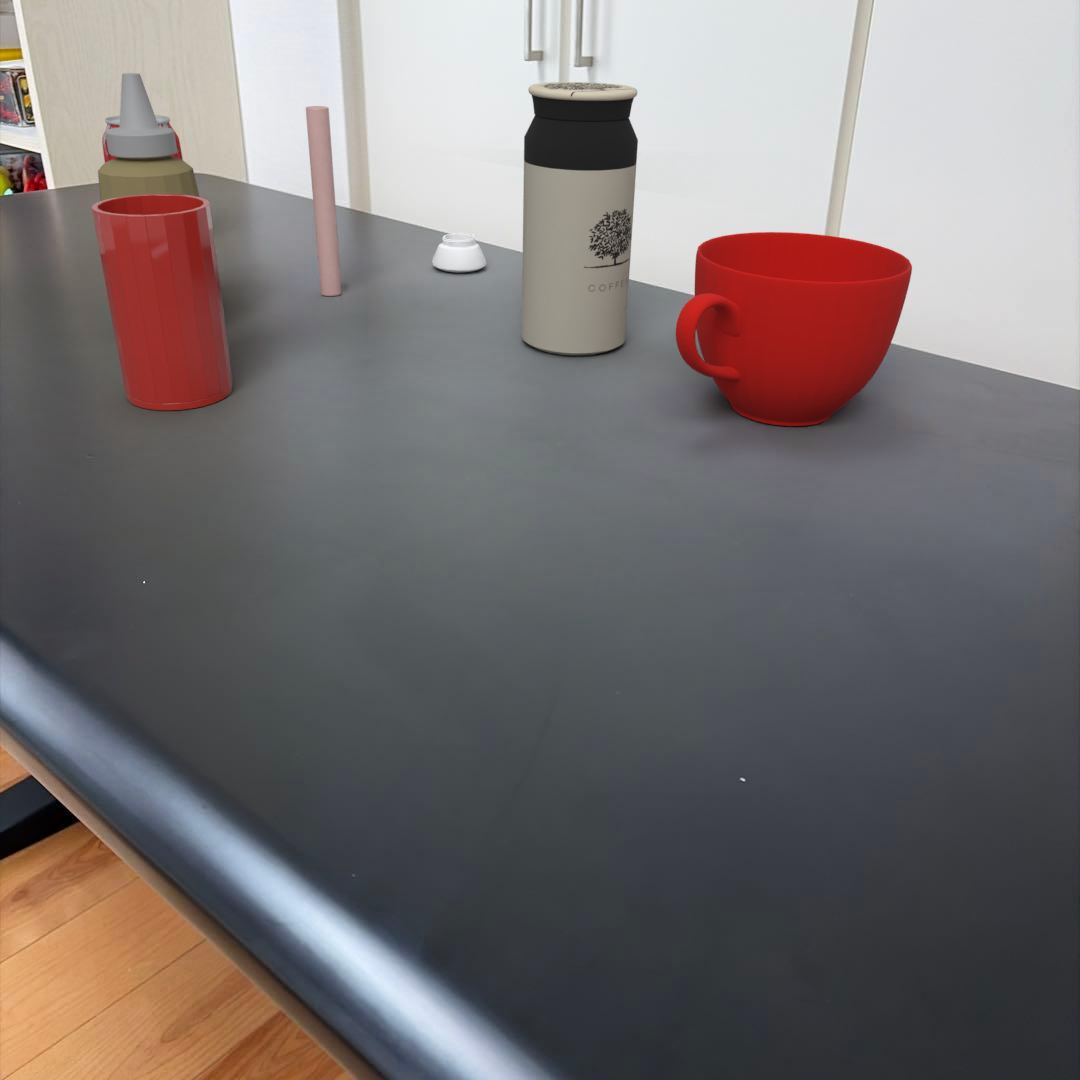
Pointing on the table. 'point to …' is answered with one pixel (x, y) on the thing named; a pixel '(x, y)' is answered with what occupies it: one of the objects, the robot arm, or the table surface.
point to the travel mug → (578, 217)
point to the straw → (324, 199)
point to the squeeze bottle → (142, 151)
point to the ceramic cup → (791, 321)
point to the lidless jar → (459, 254)
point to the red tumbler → (164, 299)
